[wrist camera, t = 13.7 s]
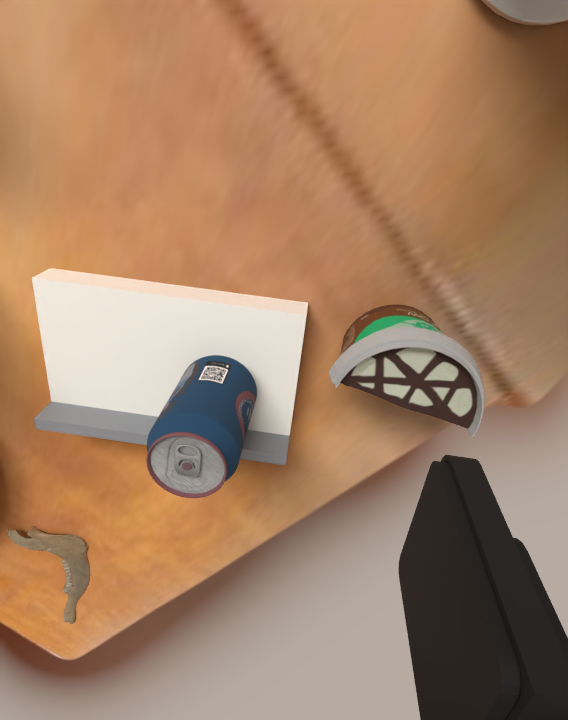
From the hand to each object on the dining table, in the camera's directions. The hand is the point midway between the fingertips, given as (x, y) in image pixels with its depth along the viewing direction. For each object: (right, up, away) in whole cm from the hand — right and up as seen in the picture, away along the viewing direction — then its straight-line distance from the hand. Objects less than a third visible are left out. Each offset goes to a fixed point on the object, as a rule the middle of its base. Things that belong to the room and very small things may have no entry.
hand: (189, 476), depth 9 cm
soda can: (-4, 0, +34) cm, 34 cm away
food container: (+13, +6, +33) cm, 35 cm away
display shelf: (-9, +3, +36) cm, 37 cm away
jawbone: (-31, -27, +55) cm, 68 cm away
